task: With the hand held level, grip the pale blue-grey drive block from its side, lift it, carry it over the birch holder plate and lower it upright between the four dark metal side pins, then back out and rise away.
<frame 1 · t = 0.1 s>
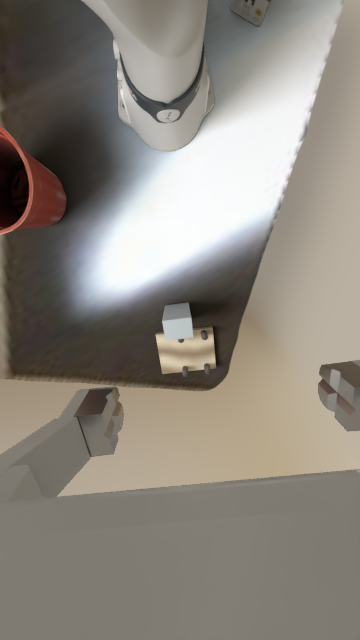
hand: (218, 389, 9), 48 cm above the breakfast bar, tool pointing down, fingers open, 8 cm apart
birch pin plate: (193, 349, 62), on the breakfast bar
flower pot: (39, 197, 49), on the breakfast bar
drive block: (177, 312, 58), on the breakfast bar
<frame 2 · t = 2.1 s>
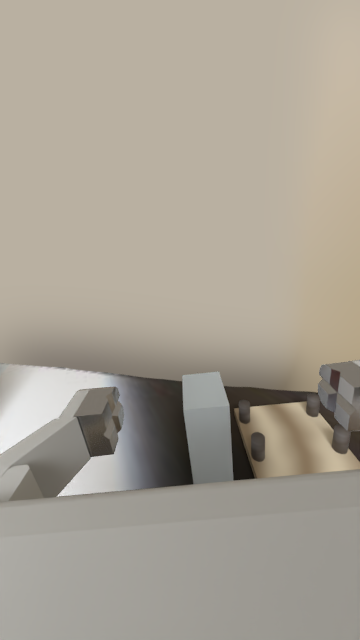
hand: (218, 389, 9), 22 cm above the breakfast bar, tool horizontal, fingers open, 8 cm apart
birch pin plate: (287, 439, 31), on the breakfast bar
drive block: (210, 467, 29), on the breakfast bar
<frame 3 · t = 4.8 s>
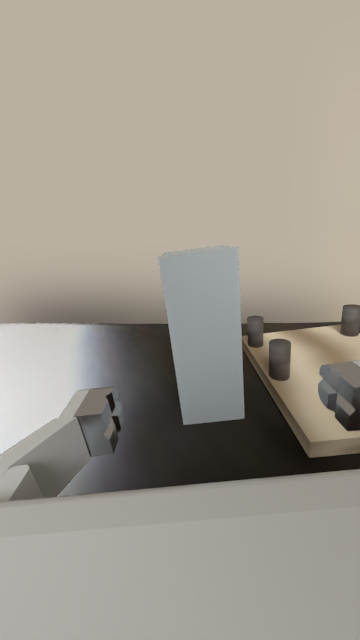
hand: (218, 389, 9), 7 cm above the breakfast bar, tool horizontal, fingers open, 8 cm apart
birch pin plate: (317, 362, 22), on the breakfast bar
drive block: (208, 395, 19), on the breakfast bar
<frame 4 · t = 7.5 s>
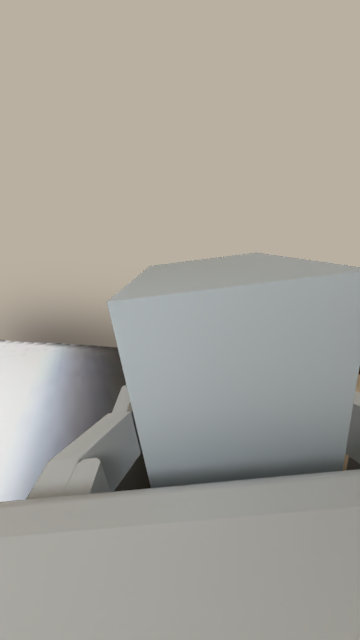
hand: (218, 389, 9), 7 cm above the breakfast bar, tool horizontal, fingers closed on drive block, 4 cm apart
drive block: (231, 526, 11), on the breakfast bar, touching gripper
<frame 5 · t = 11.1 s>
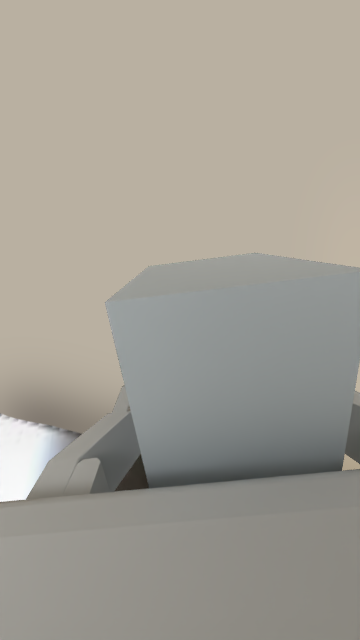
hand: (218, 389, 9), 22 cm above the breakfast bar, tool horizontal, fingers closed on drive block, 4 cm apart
drive block: (230, 526, 11), point 15 cm above the breakfast bar, touching gripper
when the fingers open (10 cm above the breakfast bar, at t = 15.0 s): drive block drops 1 cm, resting on birch pin plate.
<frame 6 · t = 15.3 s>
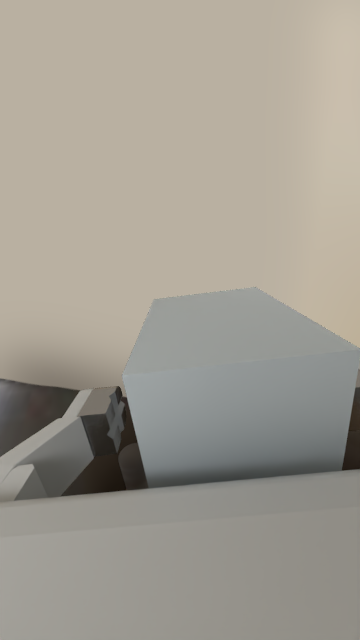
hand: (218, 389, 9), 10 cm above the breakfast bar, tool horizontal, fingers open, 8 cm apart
birch pin plate: (233, 559, 11), on the breakfast bar
drive block: (231, 545, 11), point 1 cm above the breakfast bar, touching birch pin plate
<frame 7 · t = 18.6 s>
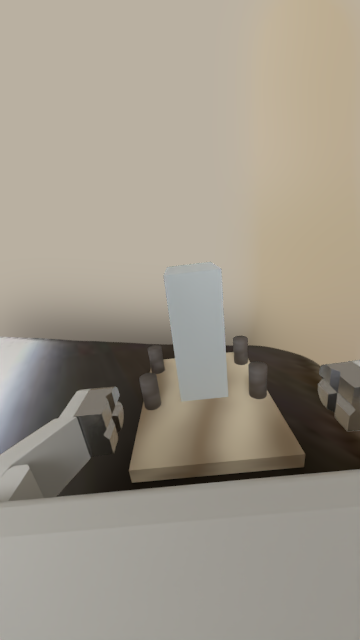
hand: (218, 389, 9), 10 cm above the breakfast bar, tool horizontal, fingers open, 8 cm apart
birch pin plate: (202, 389, 25), on the breakfast bar
drive block: (201, 380, 24), point 1 cm above the breakfast bar, touching birch pin plate
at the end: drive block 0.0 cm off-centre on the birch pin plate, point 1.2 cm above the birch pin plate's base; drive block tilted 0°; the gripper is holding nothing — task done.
